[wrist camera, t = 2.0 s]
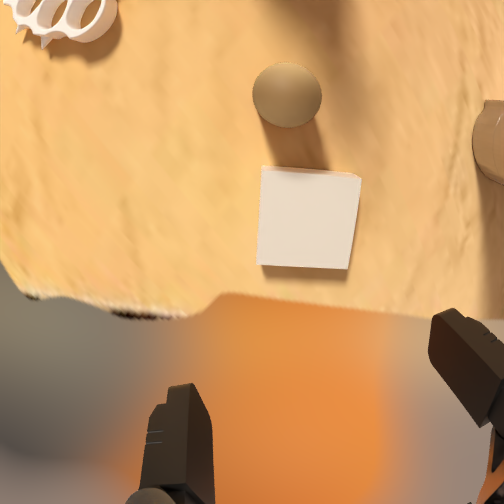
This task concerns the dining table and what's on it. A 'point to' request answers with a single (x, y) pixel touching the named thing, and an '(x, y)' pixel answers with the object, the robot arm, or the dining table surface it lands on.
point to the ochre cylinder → (287, 95)
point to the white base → (306, 217)
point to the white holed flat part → (62, 19)
